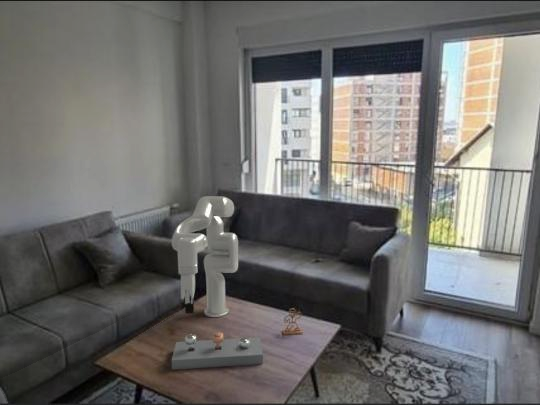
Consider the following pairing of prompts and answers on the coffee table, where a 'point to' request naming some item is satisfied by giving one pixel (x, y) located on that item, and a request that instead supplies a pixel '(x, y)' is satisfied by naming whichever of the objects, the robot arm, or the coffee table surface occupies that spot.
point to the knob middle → (217, 339)
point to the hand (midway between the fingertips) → (189, 312)
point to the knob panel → (216, 354)
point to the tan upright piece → (295, 330)
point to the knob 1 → (190, 340)
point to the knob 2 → (244, 343)
